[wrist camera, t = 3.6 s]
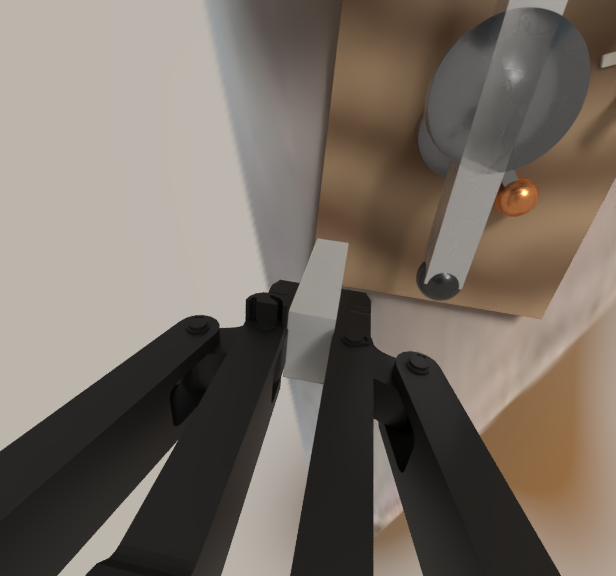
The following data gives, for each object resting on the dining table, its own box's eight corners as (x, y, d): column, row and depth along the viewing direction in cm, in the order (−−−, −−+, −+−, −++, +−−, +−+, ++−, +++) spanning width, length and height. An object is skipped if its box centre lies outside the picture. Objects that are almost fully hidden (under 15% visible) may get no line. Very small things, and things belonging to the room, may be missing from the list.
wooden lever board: (356, -85, 19) (350, -136, 15) (713, -62, 18) (823, -112, 13) (314, 269, 30) (303, 299, 26) (531, 305, 29) (558, 343, 24)
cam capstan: (473, -173, 16) (538, -349, 9) (677, -165, 15) (896, -352, 9) (380, 250, 26) (382, 300, 20) (498, 268, 25) (538, 326, 19)
